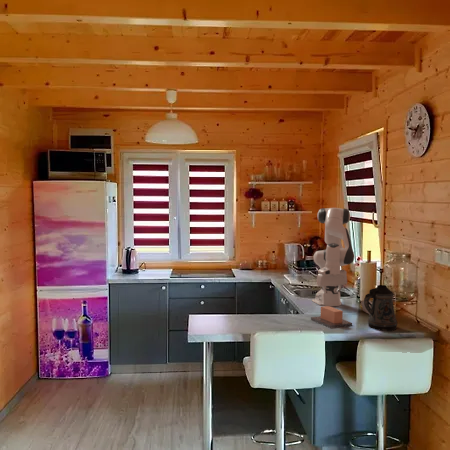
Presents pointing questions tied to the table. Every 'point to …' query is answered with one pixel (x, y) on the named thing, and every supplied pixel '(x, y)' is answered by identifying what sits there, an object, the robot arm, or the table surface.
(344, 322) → the base plate
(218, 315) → the table surface
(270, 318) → the table surface
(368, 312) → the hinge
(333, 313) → the block
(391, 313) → the beer stein
